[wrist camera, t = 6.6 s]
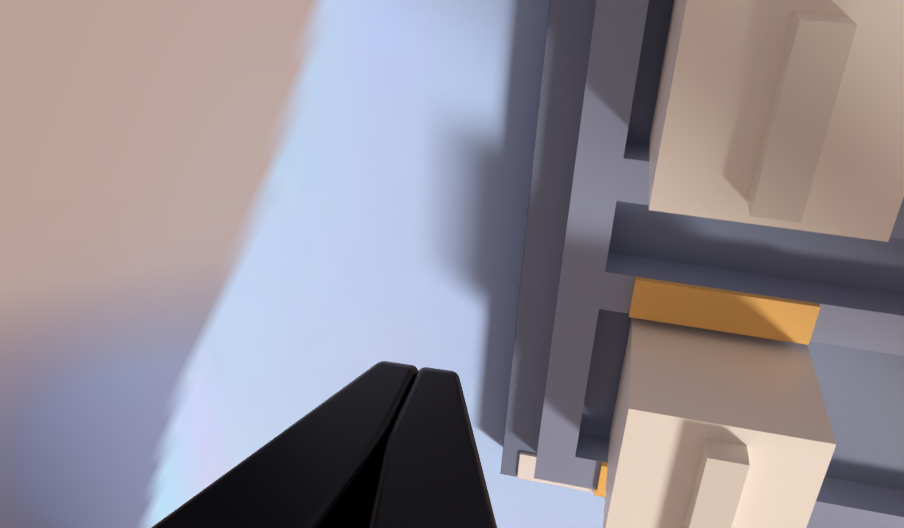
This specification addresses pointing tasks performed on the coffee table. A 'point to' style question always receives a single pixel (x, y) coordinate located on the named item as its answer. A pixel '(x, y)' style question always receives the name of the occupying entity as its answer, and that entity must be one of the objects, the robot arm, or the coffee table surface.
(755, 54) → the tab
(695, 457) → the beige block with handle
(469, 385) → the coffee table surface
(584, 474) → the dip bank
